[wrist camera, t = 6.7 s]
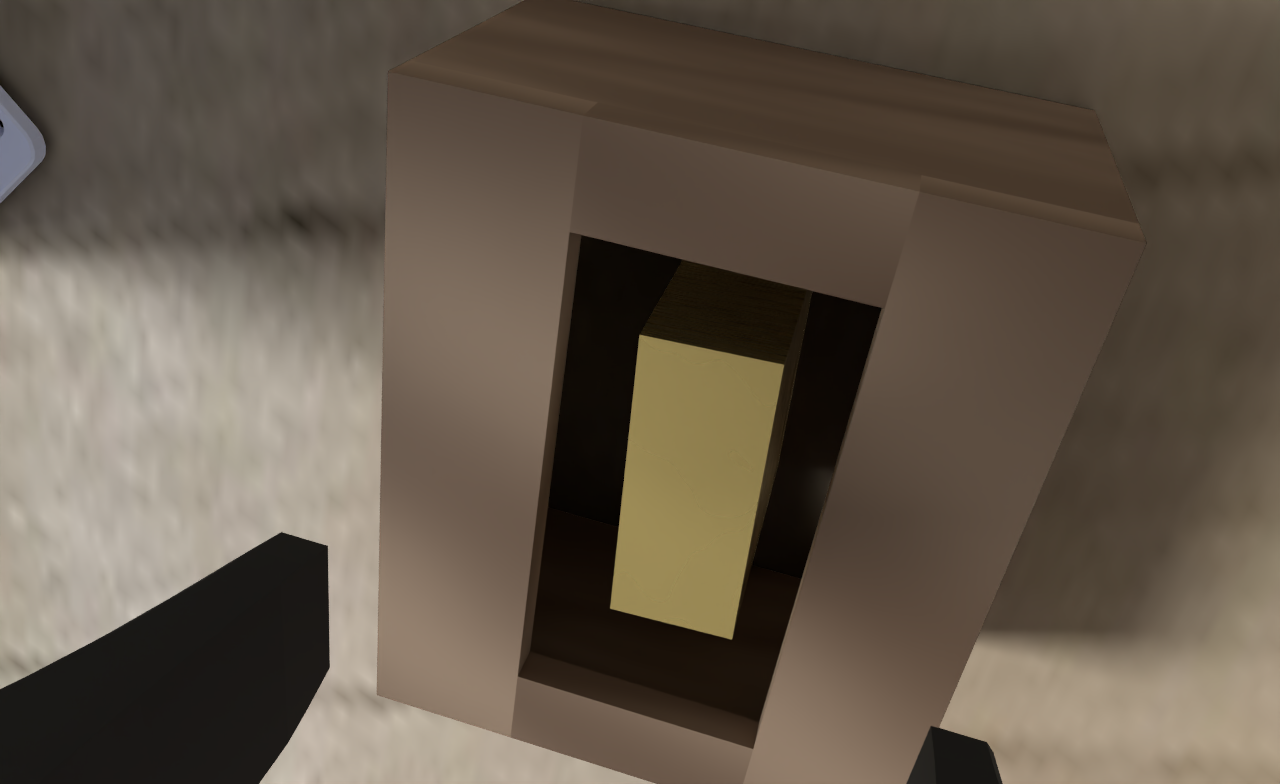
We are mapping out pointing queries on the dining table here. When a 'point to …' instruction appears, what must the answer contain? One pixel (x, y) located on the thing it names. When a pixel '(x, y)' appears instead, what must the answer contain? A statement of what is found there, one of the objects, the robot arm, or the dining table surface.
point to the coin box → (756, 246)
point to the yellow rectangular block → (705, 443)
